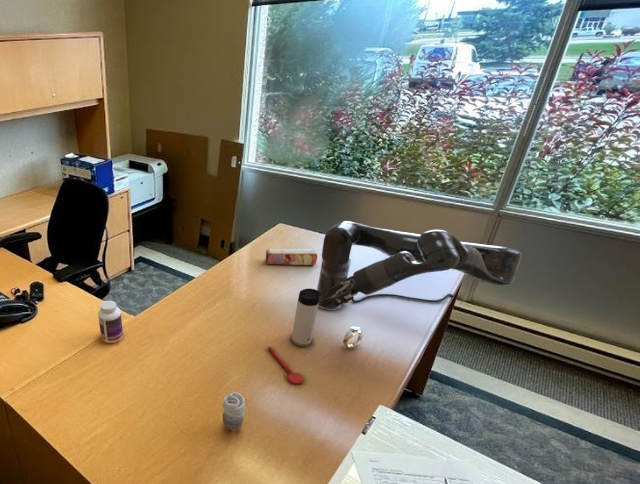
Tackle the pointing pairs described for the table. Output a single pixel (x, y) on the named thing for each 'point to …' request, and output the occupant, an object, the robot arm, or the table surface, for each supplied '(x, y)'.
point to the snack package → (291, 256)
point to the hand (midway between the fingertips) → (327, 298)
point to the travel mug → (305, 316)
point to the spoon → (288, 370)
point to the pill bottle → (110, 322)
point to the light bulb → (233, 410)
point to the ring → (355, 331)
